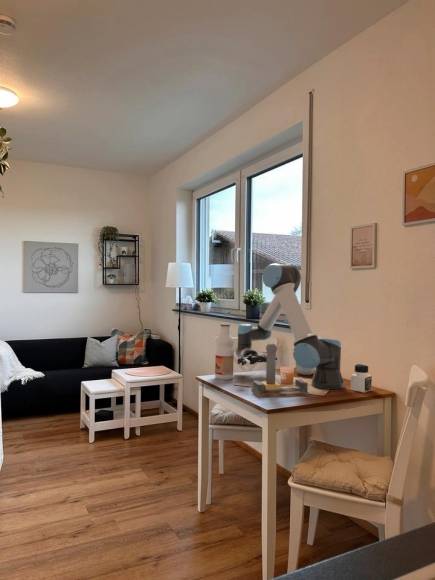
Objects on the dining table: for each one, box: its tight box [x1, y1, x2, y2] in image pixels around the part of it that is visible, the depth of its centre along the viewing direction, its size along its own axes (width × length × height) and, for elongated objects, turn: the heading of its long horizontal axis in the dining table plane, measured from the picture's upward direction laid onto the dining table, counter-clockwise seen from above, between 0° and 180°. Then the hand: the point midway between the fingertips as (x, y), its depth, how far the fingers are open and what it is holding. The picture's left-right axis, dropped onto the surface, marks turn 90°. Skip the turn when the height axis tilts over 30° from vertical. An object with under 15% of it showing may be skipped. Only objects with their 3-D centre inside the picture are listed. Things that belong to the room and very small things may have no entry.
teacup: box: [294, 360, 316, 376], centre depth 238 cm, size 14×11×8 cm
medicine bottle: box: [350, 363, 373, 394], centre depth 201 cm, size 7×7×12 cm
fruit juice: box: [214, 323, 235, 381], centre depth 221 cm, size 9×9×28 cm
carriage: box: [260, 342, 282, 390], centre depth 191 cm, size 7×7×20 cm
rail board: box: [250, 378, 310, 398], centre depth 192 cm, size 23×12×5 cm, turn 103°
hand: (262, 363), depth 202 cm, fingers open, 13 cm apart
